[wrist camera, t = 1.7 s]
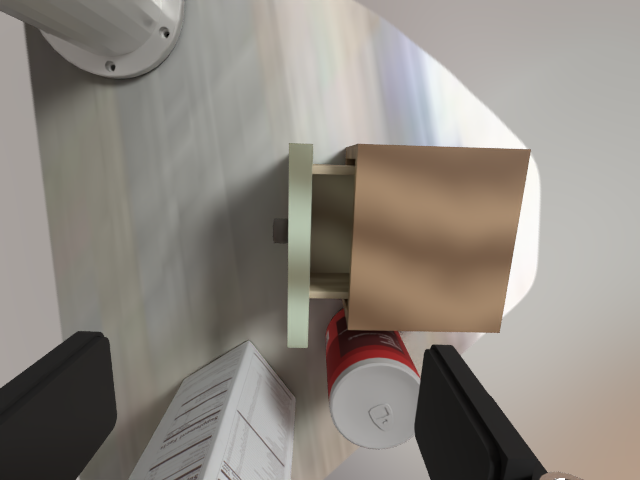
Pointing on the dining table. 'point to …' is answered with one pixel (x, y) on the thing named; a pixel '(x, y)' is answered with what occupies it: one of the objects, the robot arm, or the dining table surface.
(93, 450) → the robot arm
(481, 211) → the cabinet
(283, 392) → the supplement box
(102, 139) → the dining table surface
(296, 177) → the drawer
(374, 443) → the canned food
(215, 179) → the dining table surface
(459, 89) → the dining table surface
